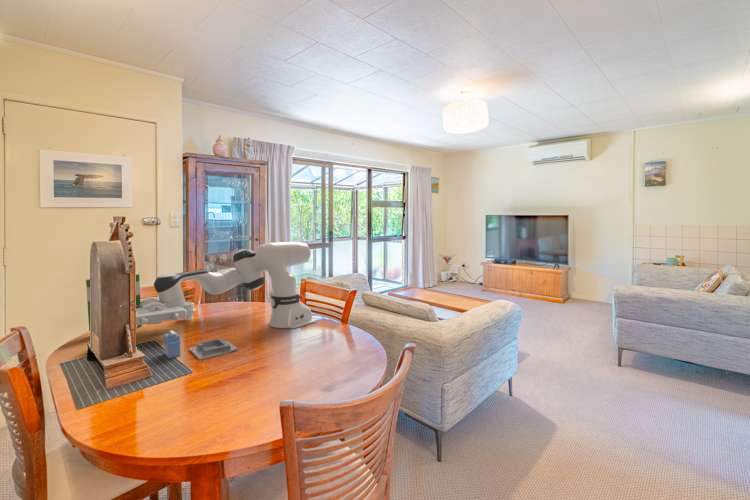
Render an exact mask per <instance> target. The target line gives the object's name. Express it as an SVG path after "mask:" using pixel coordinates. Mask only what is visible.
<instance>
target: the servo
mask: <svg viewBox="0 0 750 500" xmlns="http://www.w3.org/2000/svg"><path fill="white" fill-rule="evenodd" d="M180 337H181V335H179V333H177V332H176V331H174V330H172V329H171V330H169V332H168V333H163V337H162V338H163V339H162V340H163V341H164V342H163V343H164V345H163V347H164V355H165V356H166V358H167V359H172V358H175V357H177V358H178V357H180V356H181V343H182V341H181V338H180Z"/></svg>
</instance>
